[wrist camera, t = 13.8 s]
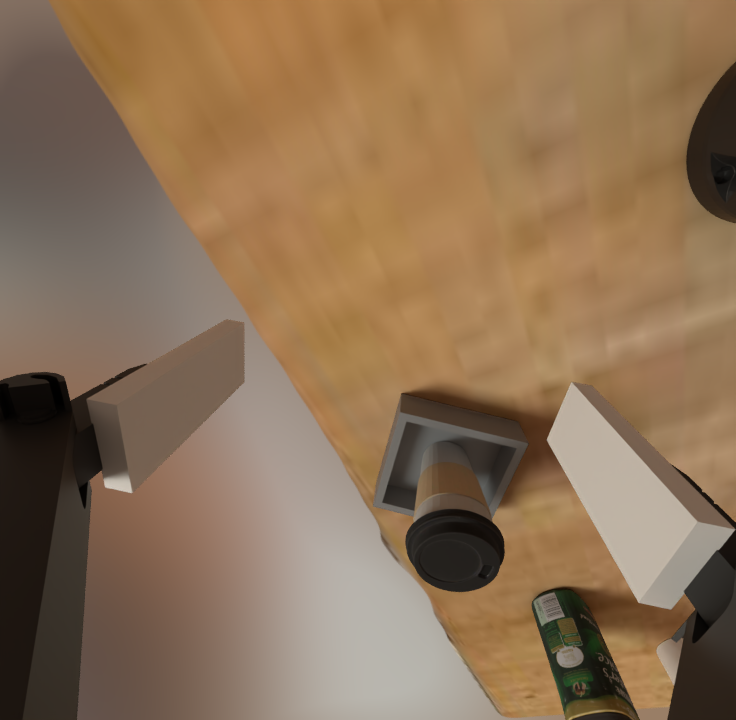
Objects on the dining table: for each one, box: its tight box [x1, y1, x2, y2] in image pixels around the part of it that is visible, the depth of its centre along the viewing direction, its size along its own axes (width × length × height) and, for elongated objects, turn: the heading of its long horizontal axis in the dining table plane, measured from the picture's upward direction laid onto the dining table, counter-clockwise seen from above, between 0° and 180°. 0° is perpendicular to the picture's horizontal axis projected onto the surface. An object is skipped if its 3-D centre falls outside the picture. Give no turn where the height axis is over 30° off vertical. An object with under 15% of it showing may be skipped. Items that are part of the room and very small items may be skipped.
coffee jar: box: [532, 590, 640, 720], centre depth 47 cm, size 10×8×19 cm
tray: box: [373, 394, 529, 518], centre depth 45 cm, size 15×15×4 cm
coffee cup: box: [406, 442, 505, 592], centre depth 39 cm, size 9×9×15 cm
